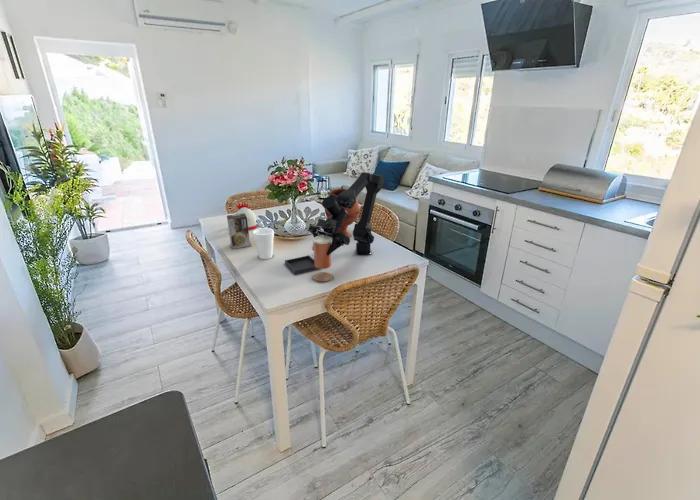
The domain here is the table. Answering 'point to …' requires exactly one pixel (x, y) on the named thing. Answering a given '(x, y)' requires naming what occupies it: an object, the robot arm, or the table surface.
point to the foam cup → (264, 242)
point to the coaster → (322, 277)
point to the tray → (301, 264)
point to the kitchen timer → (248, 215)
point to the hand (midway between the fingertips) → (320, 252)
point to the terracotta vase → (352, 213)
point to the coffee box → (238, 230)
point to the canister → (321, 252)
